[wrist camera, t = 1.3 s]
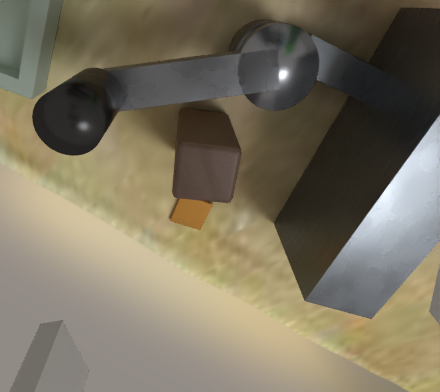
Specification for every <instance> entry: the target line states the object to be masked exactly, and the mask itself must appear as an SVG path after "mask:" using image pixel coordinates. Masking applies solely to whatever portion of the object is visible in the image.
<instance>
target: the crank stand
mask: <svg viewBox="0 0 440 392" xmlns="http://www.w3.org/2000/svg"><path fill="white" fill-rule="evenodd" d="M268 23H276V21H271V20H256V21H253V22H250V23H248V24H246V25H245V26H243V27H242V28H241V29H240V30H239V31H238V32H237V33H236V35H235V36H234V38H233V40H232V42H231V44H230V47H229V51H228V52H231V51H238V50H239V48H240V46H241V44H242V42H243V41H244V39H245V38H246V37H247V36H248V35H249V34H250V33H251V32H252V31H254V30H255V29H256V28H258V27H260V26H262V25H265V24H268ZM279 23H281V22H279ZM308 35H309V36H310V37H311V38H312V40H313V41H314V43H315V45H316V47H317V50H318V55H319V71H318V76H317V79H316V80H318V81H320V82H322V83H325V84H327V85H329V86H331V87H333V88H335V89H337V90H339V91H341V92H344V93H346V94H348V95H349V97H348V99H347V101H346V102H345V104H344V106H343V107H342V109H341V111H340V112H339V114H338V116H337V117H336V119H335V121H334V123H333V124H332V126H331V128H330V129H329V131H328V133H327V134H326V136H325V138H324V139H323V141H322V143H321V145H320V146H319V148H318V150H317V151H316V153H315V155H314V156H313V158H312V160H311V161H310V163H309V165H308V167H307V168H306V170H305V172H304V173H303V175H302V177H301V178H300V180H299V182H298V183H297V185H296V187H295V189H294V190H293V192H292V194H291V195H290V197H289V199H288V200H287V202H286V204H285V205H284V207H283V209H282V211H281V212H280V214H279V216H278V217H277V219H276V221H275V222H274V225H275V227H276V230H277V233H278V235H279V238H280V240H281V243H282V245H283V248H284V250H285V253H286V255H287V258H288V260H289V263H290V265H291V268H292V270H293V273H294V275H295V278H296V280H297V283H298V285H299V288H300V290H301V293H302V295H303V298H304V300H305V301H307V302H311V303H314V304H318V305H322V306H325V307H329V308H333V309H336V310H340V311H344V312H347V313H351V314H355V315H358V316H362V317H366V318H370V319H372V318H373V317H374V316H375V314H376V313H377V312H378V311H379V310H380V309H381V308H382V306H383V305H384V304H385V303H386V302H387V301H388V300H389V298H390V297H391V296H392V295H393V294H394V293H395V291H396V290H397V289H398V288H399V287H400V286H401V285H402V283H403V282H404V281H405V280H406V279H407V278H408V277H409V275H410V274H411V273H412V272H413V271H414V270H415V269H416V267H417V266H418V265H419V264H420V263H421V262H422V260H423V259H424V258H425V257H426V256H427V255H428V254H429V252H430V251H431V250H432V249H433V248H434V247H435V246H436V244H437V243H438V242H439V241H440V9H437V8H401V9H400V11H399V12H398V14H397V16H396V18H395V19H394V21H393V23H392V24H391V26H390V28H389V29H388V31H387V33H386V34H385V36H384V38H383V40H382V41H381V43H380V45H379V46H378V48H377V50H376V51H375V53H374V55H373V56H372V58H371V60H370V62H369V63H366V62H364V61H362V60H360V59H358V58H357V57H355V56H353V55H351V54H349V53H347V52H345V51H343V50H341V49H339V48H337V47H335V46H333V45H331V44H329V43H327V42H325V41H323V40H322V39H320V38H318V37H316V36H314V35H312V34H308ZM211 207H212V203H211V202H208V201H201V200H190V199H179V200H178V202H177V205H176V207H175V209H174V212H173V214H172V216H171V219H170V221H172V222H175V223H178V224H182V225H185V226H188V227H192V228H195V229H198V230H201V228H202V225H203V223H204V221H205V219H206V217H207V215H208V213H209V211H210V209H211Z"/></svg>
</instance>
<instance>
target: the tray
mask: <svg viewBox="0 0 440 392" xmlns="http://www.w3.org/2000/svg"><path fill="white" fill-rule="evenodd" d="M62 1H63V0H0V88H2V89H5V90H8V91H11V92H13V93H16V94H19V95H22V96H24V97H27V98H30V99H33V98H35V97H36V96H38V95H40V94H41V93H43V92H44V91H45V89H46V83H47V78H48V73H49V68H50V63H51V58H52V53H53V48H54V42H55V37H56V32H57V27H58V22H59V17H60V12H61V7H62Z"/></svg>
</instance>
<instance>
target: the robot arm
mask: <svg viewBox="0 0 440 392" xmlns="http://www.w3.org/2000/svg"><path fill="white" fill-rule="evenodd" d="M429 312H430V313H431V314H432V316H433V317H434V318H435V319H436V321H437V322H438V323H439V324H440V266H439V270H438V275H437V279H436V284H435V288H434V293H433V297H432V301H431V306H430V310H429ZM88 373H89V368H88V366H87V364H86V362H85V361H84V359H83V357H82V355H81V353H80V351H79V350H78V348H77V346H76V344H75V342H74V341H73V338H72V336H71V335H70V333H69V331H68V329H67V327H66V325H65V324H64V322H63V320H61V321H55V322H49V323H43V324H40V326H39V328H38V331H37V333H36V335H35V337H34V339H33V341H32V344H31V346H30V348H29V350H28V352H27V355H26V357H25V359H24V361H23V363H22V366H21V368H20V370H19V372H18V374H17V376H16V379H15V381H14V383H13V385H12V387H11V389H10V392H84V388H85V384H86V380H87V376H88Z"/></svg>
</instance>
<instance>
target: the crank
mask: <svg viewBox="0 0 440 392" xmlns="http://www.w3.org/2000/svg"><path fill="white" fill-rule="evenodd" d="M318 71H319V55H318V50H317V47H316V45H315V43H314V41H313V40H312V38H311V37H310V36H309V35H308V34H307V33H306V32H305V31H304V30H302V29H301V28H299V27H297V26H294V25H291V24H286V23H279V22H276V23H268V24H265V25H262V26H260V27H258V28H256V29H255V30H254V31H252V32H251V33H250V34H249V35H248V36H247V37H246V38H245V39H244V41H243V42H242V44H241V46H240V48H239V50H238V51H231V52H223V53H216V54H208V55H201V56H193V57H186V58H178V59H171V60H163V61H156V62H148V63H141V64H133V65H126V66H118V67H111V68H103V69H101V68H88V69H85V70H83V71H81V72H79V73H78V74H76V75H75V76H73V77H72V78H70V79H68V80H67V81H65V82H64V83H62V84H61V85H59V86H57V87H56V88H54V89H53V90H51V91H50V92H48V93H46V94H45V95H43V96H42V97H41V98H40V99H39V100H38V101H37V103H36V104H35V107H34V109H33V115H32V118H33V125H34V128H35V131H36V133H37V134H38V136H39V137H40V139H41V140H42V141H43V142H44V143H45V144H46V145H47V146H48V147H50V148H51V149H53V150H55V151H57V152H59V153H62V154H65V155H82V154H85V153H88V152H90V151H91V150H93V149H94V148H95V147H96V146H97V145H98V143H99V142H100V140H101V139H102V137H103V135H104V134H105V132H106V131H107V129H108V127H109V126H110V124H111V123H112V121H113V120H114V118H115V116H116V115H117V113H118V112H119V111H126V110H134V109H141V108H148V107H156V106H163V105H170V104H178V103H185V102H192V101H200V100H207V99H214V98H222V97H229V96H236V95H244V94H245V96H246V97H247V98H248V99H249V100H250V101H251V102H252V103H253V104H255V105H256V106H258V107H260V108H263V109H266V110H274V111H276V110H283V109H287V108H290V107H292V106H294V105H296V104H297V103H299V102H300V101H301V100H303V99H304V98H305V97H306V96H307V95H308V93H309V92H310V91H311V89H312V87H313V86H314V84H315V81H316V79H317V76H318Z"/></svg>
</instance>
